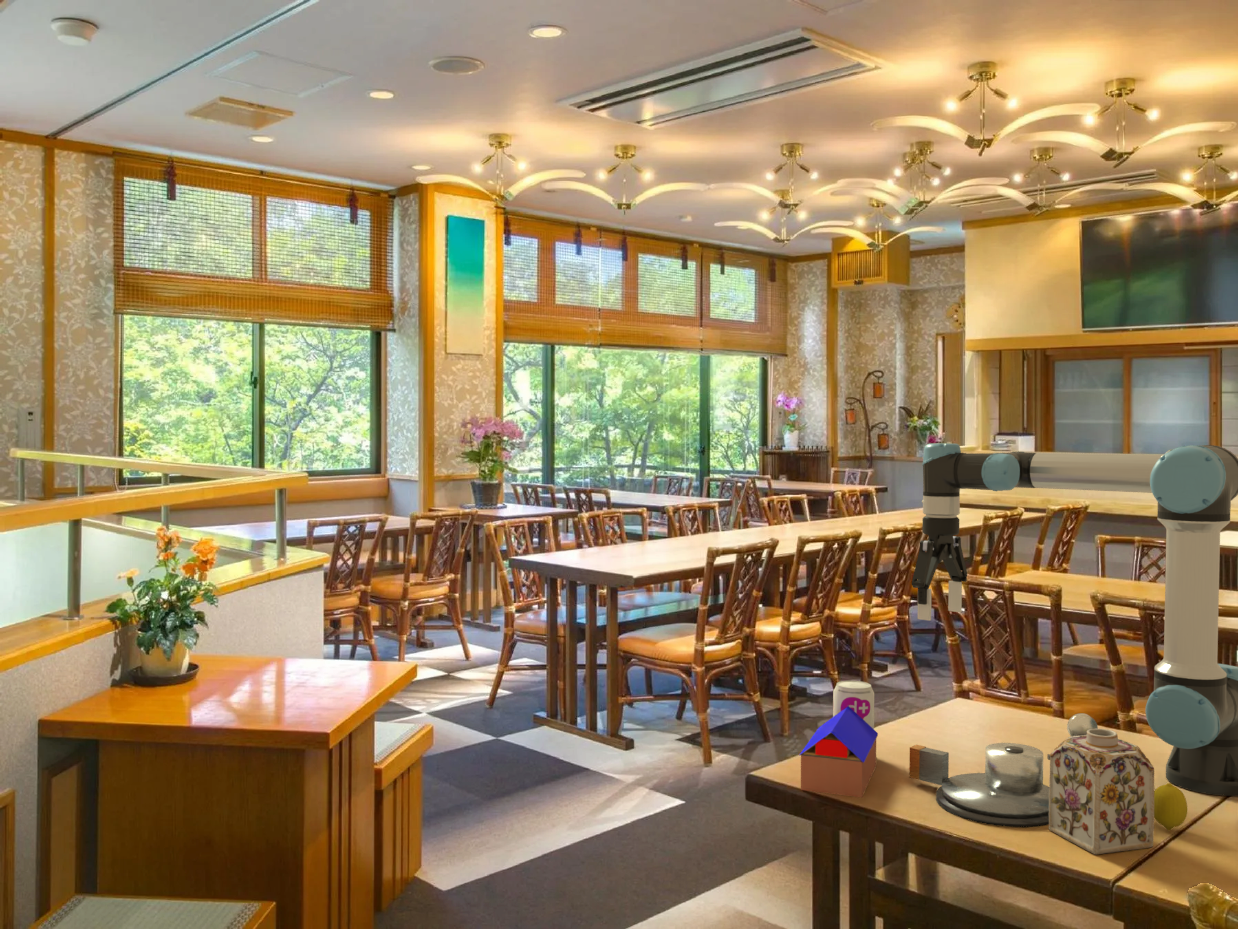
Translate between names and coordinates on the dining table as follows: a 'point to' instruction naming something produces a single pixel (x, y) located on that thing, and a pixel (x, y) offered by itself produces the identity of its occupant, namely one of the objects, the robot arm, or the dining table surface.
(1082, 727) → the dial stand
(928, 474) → the robot arm
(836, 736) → the house
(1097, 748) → the decorative jar
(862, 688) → the supplement can
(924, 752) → the turntable
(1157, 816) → the lemon
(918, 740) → the dining table surface
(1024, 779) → the cover
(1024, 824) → the turntable base
